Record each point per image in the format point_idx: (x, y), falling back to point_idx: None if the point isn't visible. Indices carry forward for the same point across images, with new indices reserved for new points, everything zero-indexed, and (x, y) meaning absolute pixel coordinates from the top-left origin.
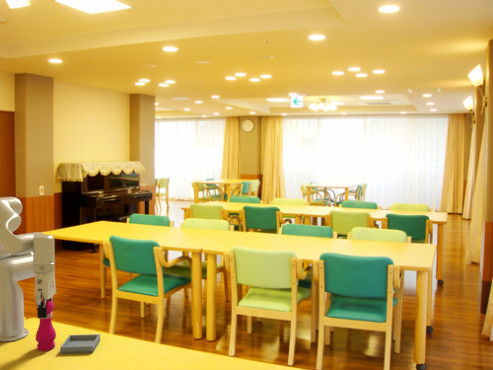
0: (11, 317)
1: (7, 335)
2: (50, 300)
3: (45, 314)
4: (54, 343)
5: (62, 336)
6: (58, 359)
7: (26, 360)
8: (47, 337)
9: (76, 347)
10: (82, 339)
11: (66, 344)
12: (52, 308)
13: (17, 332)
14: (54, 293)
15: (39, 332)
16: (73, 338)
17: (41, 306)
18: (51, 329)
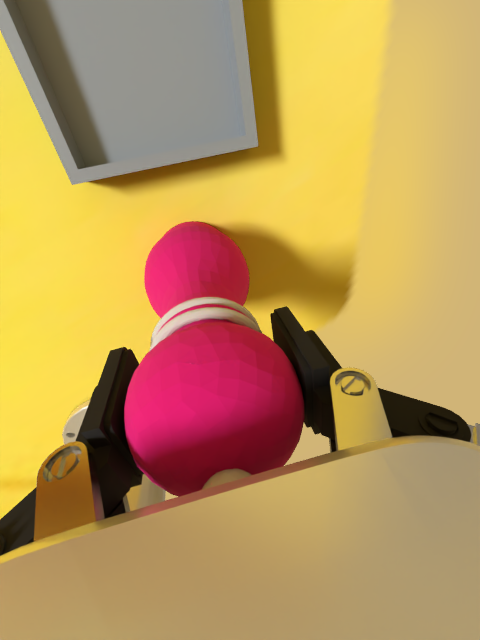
0: (149, 491)
1: None
2: (94, 459)
3: (295, 325)
4: (184, 226)
5: (43, 258)
6: (313, 121)
7: (316, 266)
8: (239, 250)
9: (243, 16)
10: (48, 79)
11: (176, 149)
12: (215, 328)
13: None
14: (56, 565)
15: (242, 305)
16: (76, 151)
17: (389, 400)
18: (208, 256)
